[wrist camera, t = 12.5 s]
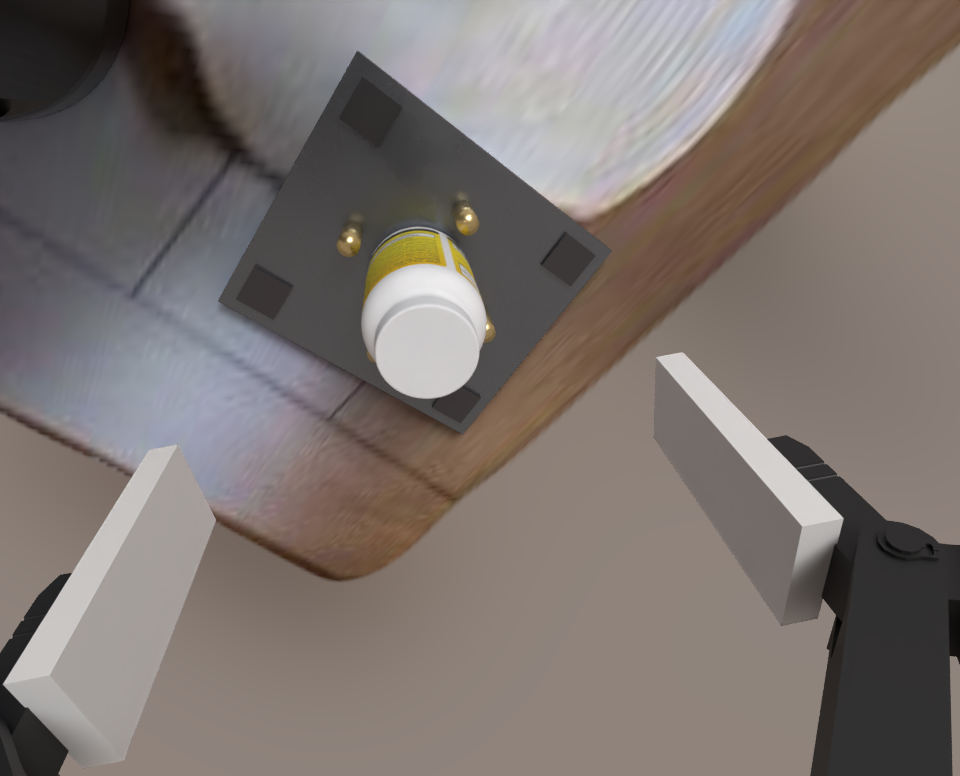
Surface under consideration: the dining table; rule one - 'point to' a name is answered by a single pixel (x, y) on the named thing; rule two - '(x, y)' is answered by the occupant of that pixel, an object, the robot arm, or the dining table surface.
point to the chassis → (398, 205)
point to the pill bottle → (422, 313)
